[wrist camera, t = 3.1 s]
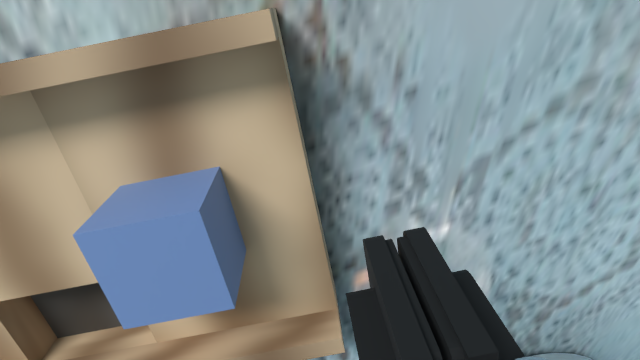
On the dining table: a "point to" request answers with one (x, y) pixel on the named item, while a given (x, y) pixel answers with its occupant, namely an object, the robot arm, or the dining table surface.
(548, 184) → the dining table surface
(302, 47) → the dining table surface
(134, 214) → the blue block
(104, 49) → the trap board
